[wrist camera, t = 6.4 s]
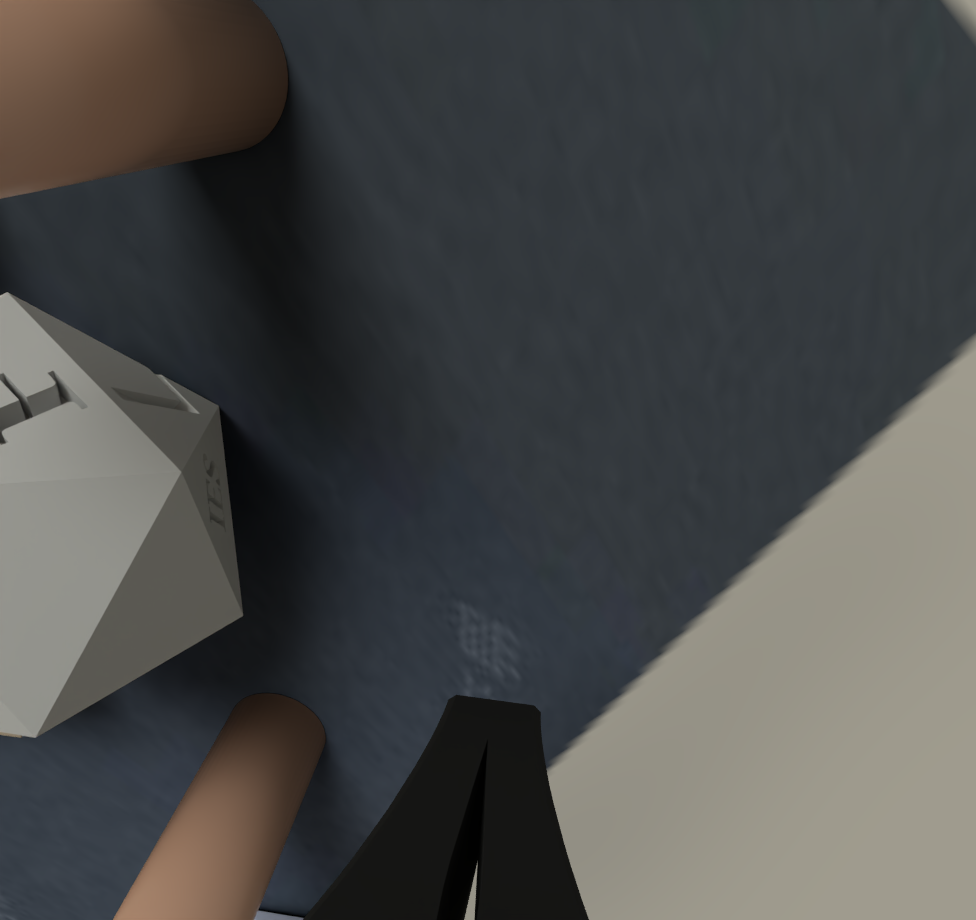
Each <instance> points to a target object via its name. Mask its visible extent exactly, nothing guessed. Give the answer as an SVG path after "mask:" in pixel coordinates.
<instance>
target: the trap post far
mask: <svg viewBox="0 0 976 920" xmlns="http://www.w3.org/2000/svg"><path fill="white" fill-rule="evenodd" d="M325 739H326V736H325V731H324V728H323V726H322V724H321V722H320V720H319V719H318V717H317V716H316V715H315V714H314V713H313V712H312V711H311V710H310V709H309V708H307V707H306V706H305V705H303V704H301V703H300V702H298V701H296V700H294V699H292V698H289V697H286V696H283V695H278V694H272V693H260V694H254V695H251V696H248V697H246V698H244V699H242V700H241V701H240V702H238V703H237V705H236V706H235V707H234V709H233V711H232V712H231V714H230V716H229V718H228V719H227V721H226V723H225V725H224V726H223V728H222V730H221V732H220V733H219V735H218V737H217V739H216V740H215V742H214V744H213V746H212V747H211V749H210V751H209V753H208V754H207V756H206V758H205V760H204V761H203V763H202V765H201V767H200V768H199V770H198V772H197V774H196V775H195V777H194V779H193V781H192V782H191V784H190V786H189V788H188V789H187V791H186V793H185V795H184V796H183V798H182V800H181V802H180V803H179V805H178V807H177V809H176V810H175V812H174V814H173V816H172V817H171V819H170V821H169V823H168V824H167V826H166V828H165V830H164V831H163V833H162V835H161V837H160V838H159V840H158V842H157V844H156V845H155V847H154V849H153V851H152V852H151V854H150V856H149V858H148V859H147V861H146V863H145V865H144V866H143V868H142V870H141V872H140V873H139V875H138V877H137V879H136V880H135V882H134V884H133V885H132V887H131V889H130V891H129V892H128V894H127V896H126V898H125V899H124V901H123V903H122V905H121V906H120V908H119V910H118V912H117V913H116V915H115V917H114V919H113V920H254V919H255V917H256V914H257V912H258V909H259V907H260V904H261V902H262V899H263V897H264V894H265V892H266V889H267V887H268V884H269V882H270V880H271V877H272V875H273V872H274V870H275V867H276V865H277V862H278V860H279V857H280V855H281V852H282V850H283V847H284V845H285V842H286V840H287V837H288V835H289V832H290V830H291V827H292V825H293V823H294V820H295V818H296V815H297V813H298V810H299V808H300V805H301V803H302V800H303V798H304V795H305V793H306V790H307V788H308V785H309V783H310V780H311V778H312V775H313V773H314V770H315V768H316V766H317V763H318V761H319V758H320V756H321V753H322V751H323V748H324V746H325Z"/></svg>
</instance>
